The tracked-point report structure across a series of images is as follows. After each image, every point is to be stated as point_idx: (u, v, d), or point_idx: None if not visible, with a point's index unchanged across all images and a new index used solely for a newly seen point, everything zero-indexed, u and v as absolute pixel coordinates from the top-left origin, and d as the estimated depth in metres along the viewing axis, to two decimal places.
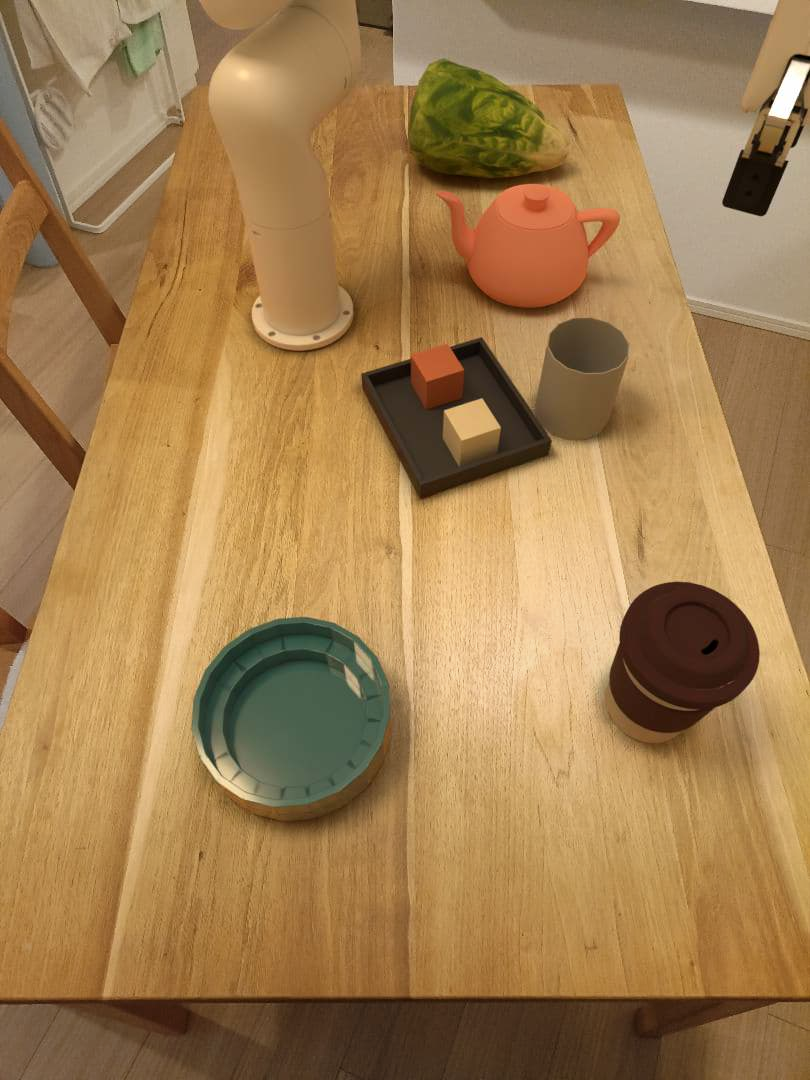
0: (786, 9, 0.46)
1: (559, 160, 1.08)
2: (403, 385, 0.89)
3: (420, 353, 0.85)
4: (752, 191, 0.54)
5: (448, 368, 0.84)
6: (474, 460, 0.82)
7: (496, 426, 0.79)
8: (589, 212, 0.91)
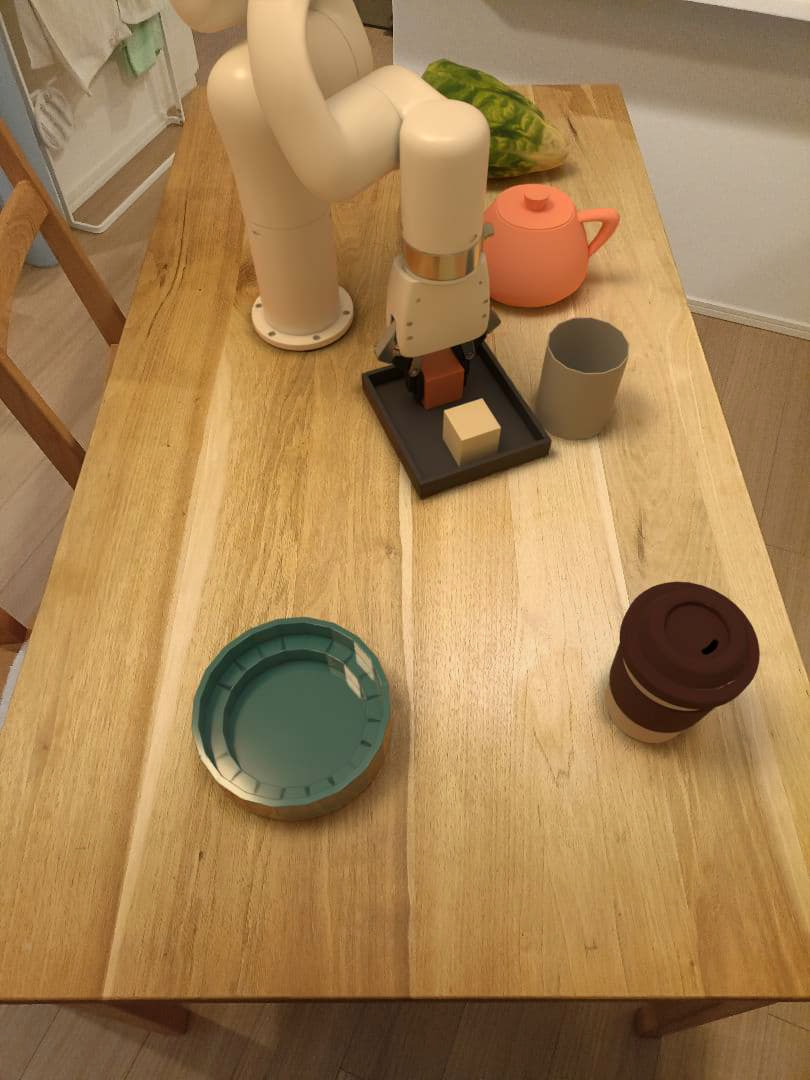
0: (388, 287, 0.76)
1: (559, 160, 1.08)
2: (403, 385, 0.89)
3: None
4: (408, 382, 0.85)
5: (448, 368, 0.84)
6: (474, 460, 0.82)
7: (496, 426, 0.79)
8: (589, 212, 0.91)
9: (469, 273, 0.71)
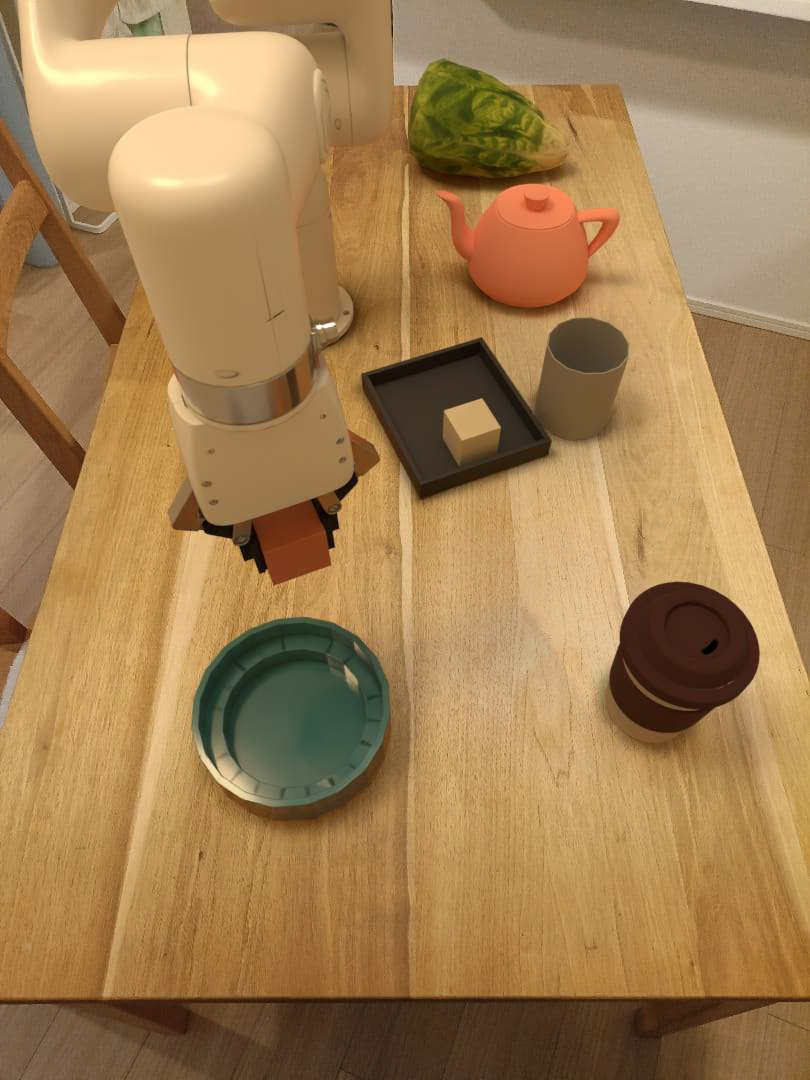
0: None
1: (559, 160, 1.08)
2: (403, 385, 0.89)
3: None
4: None
5: (301, 529, 0.53)
6: (474, 460, 0.82)
7: (496, 426, 0.79)
8: (589, 212, 0.91)
9: (292, 409, 0.41)
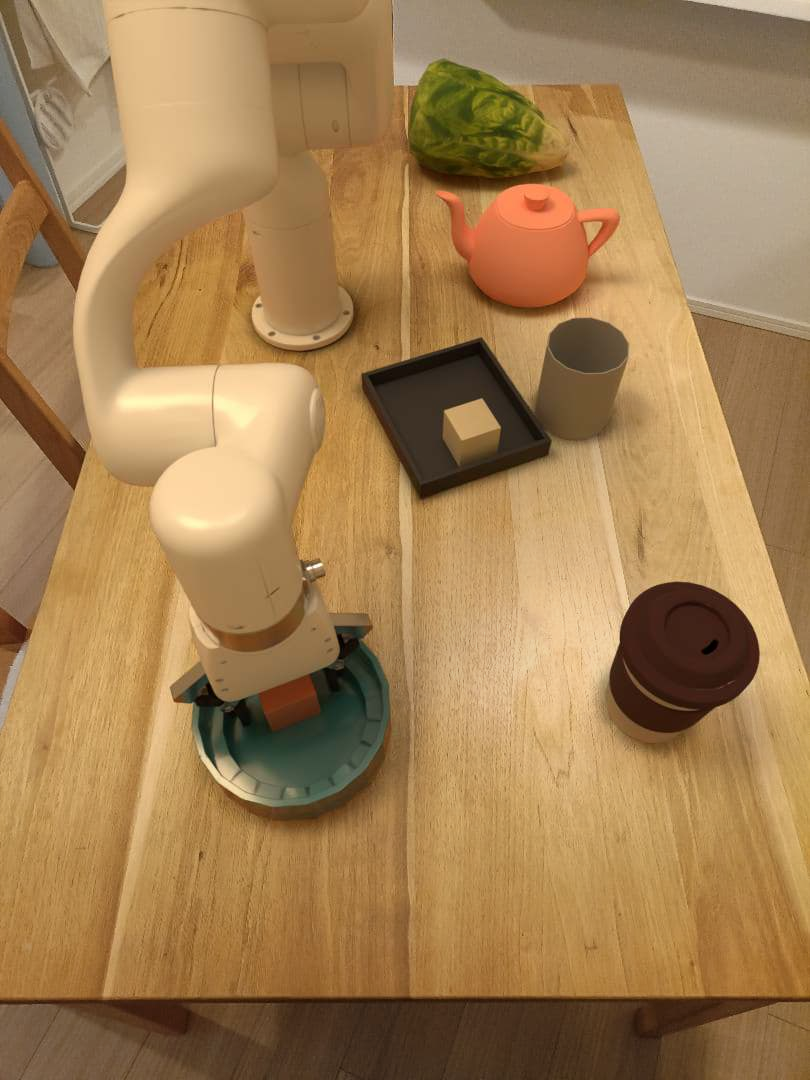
0: None
1: (559, 160, 1.08)
2: (403, 385, 0.89)
3: None
4: None
5: (295, 691, 0.64)
6: (474, 460, 0.82)
7: (496, 426, 0.79)
8: (589, 212, 0.91)
9: (288, 637, 0.51)
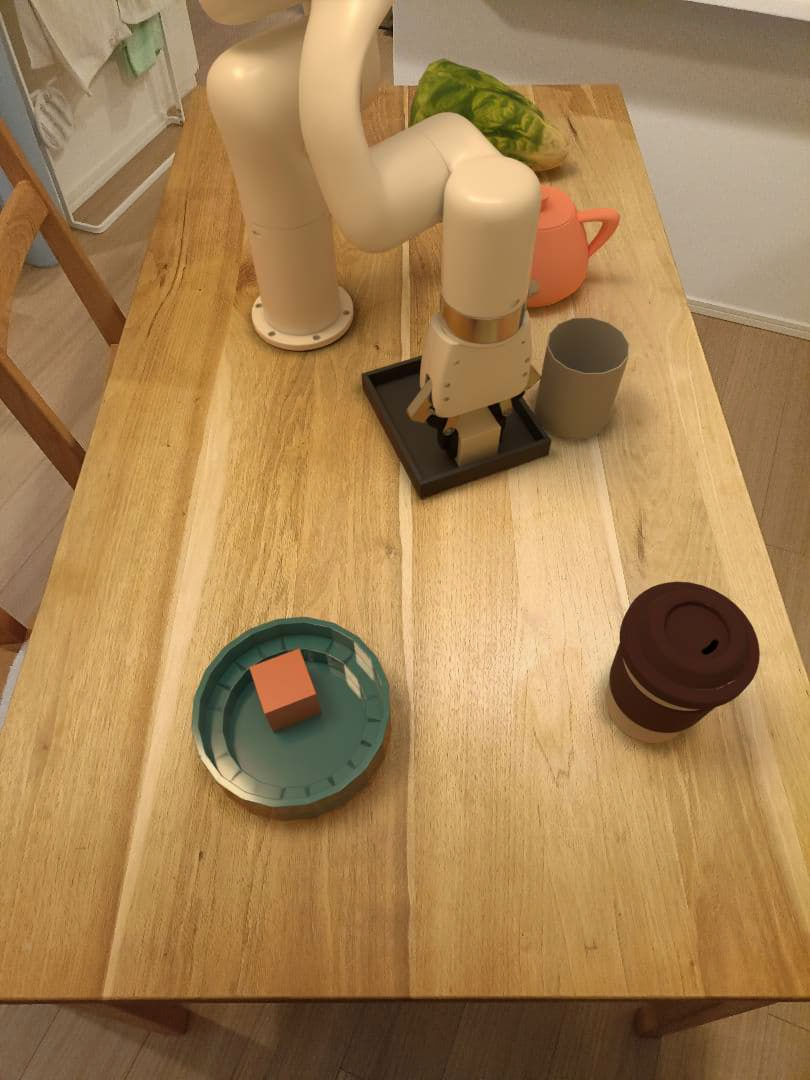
0: (424, 346, 0.71)
1: (559, 160, 1.08)
2: (403, 385, 0.89)
3: (262, 665, 0.65)
4: (441, 440, 0.80)
5: (295, 691, 0.64)
6: (474, 460, 0.82)
7: (496, 426, 0.79)
8: (589, 212, 0.91)
9: (513, 335, 0.67)
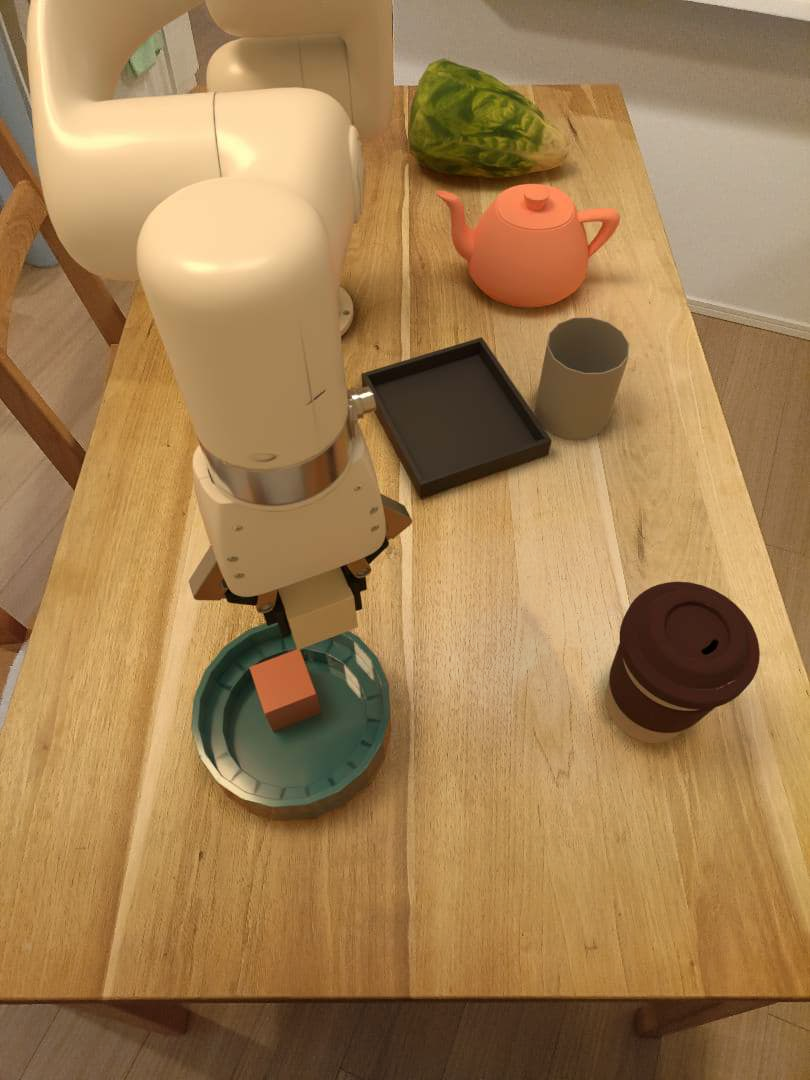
0: None
1: (559, 160, 1.08)
2: (403, 385, 0.89)
3: (262, 665, 0.65)
4: None
5: (295, 691, 0.64)
6: (320, 639, 0.53)
7: (347, 594, 0.50)
8: (589, 212, 0.91)
9: (327, 487, 0.38)
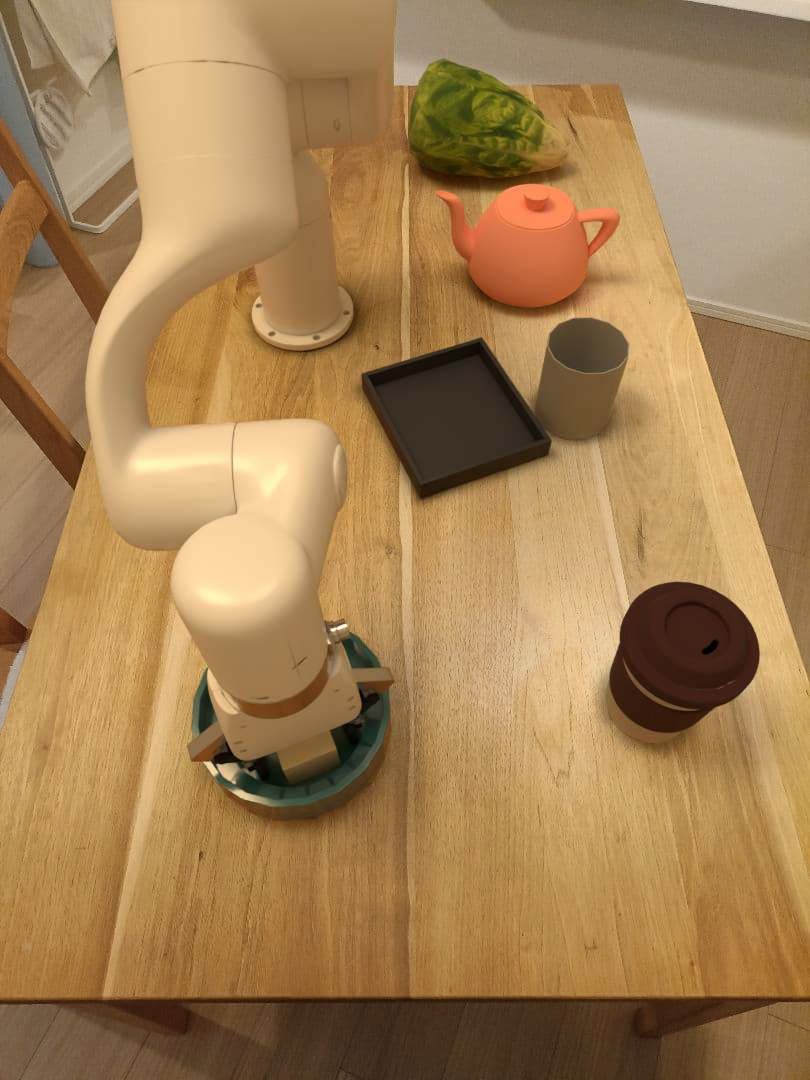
0: None
1: (559, 160, 1.08)
2: (403, 385, 0.89)
3: None
4: None
5: None
6: (309, 776, 0.64)
7: (330, 746, 0.61)
8: (589, 212, 0.91)
9: (311, 703, 0.49)
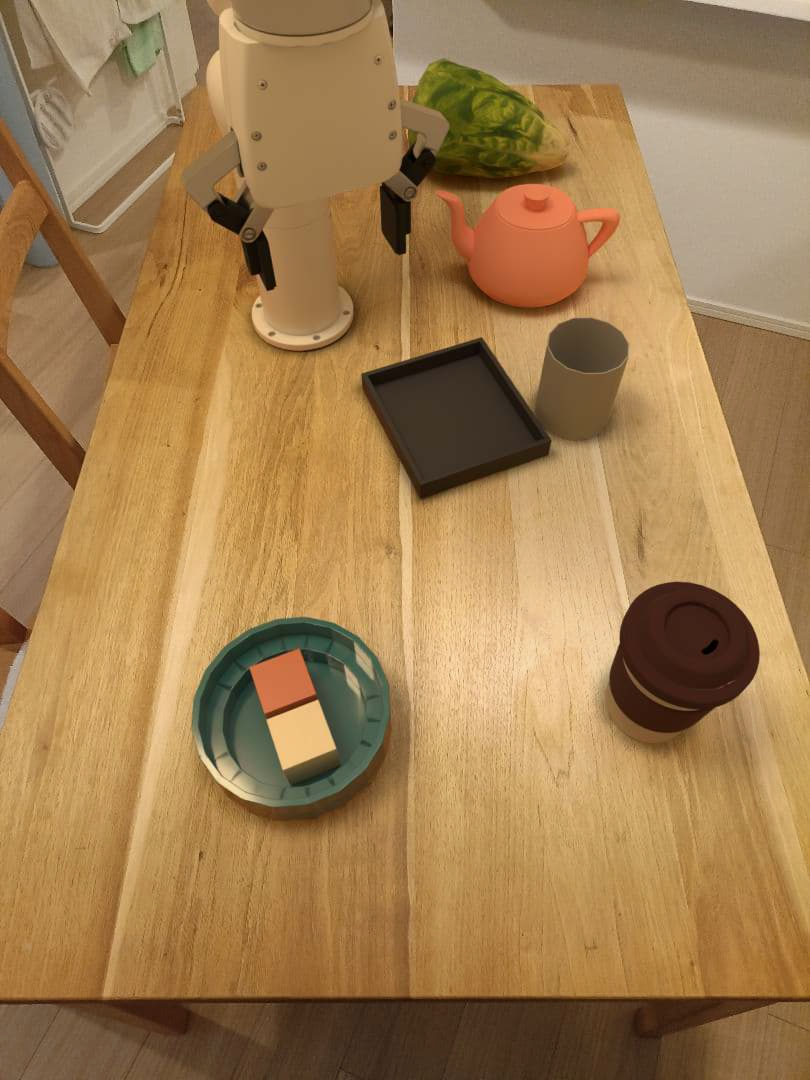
0: None
1: (559, 160, 1.08)
2: (403, 385, 0.89)
3: (262, 665, 0.65)
4: (247, 258, 0.52)
5: (295, 691, 0.64)
6: (309, 776, 0.64)
7: (330, 746, 0.61)
8: (589, 212, 0.91)
9: (349, 26, 0.39)
